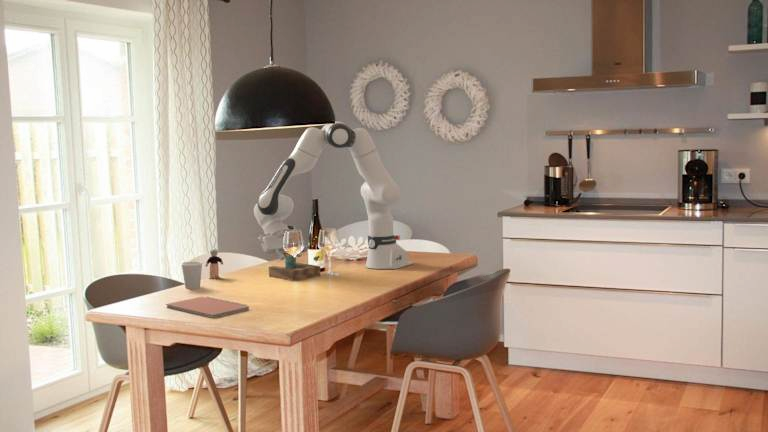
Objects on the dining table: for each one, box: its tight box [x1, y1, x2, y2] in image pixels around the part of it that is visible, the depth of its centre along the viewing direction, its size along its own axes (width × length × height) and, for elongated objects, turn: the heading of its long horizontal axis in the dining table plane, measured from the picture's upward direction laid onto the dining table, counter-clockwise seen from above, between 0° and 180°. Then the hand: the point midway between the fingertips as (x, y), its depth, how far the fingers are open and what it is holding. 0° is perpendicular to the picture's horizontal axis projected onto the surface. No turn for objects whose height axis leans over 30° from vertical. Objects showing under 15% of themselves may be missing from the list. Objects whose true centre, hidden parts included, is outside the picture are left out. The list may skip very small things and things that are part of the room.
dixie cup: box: [180, 260, 203, 290], centre depth 324 cm, size 8×8×10 cm
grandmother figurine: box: [204, 247, 224, 280], centre depth 344 cm, size 8×4×13 cm, turn 131°
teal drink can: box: [284, 252, 297, 269], centre depth 348 cm, size 5×5×10 cm
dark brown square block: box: [268, 261, 321, 282], centre depth 346 cm, size 15×16×4 cm
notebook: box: [165, 296, 250, 319], centre depth 288 cm, size 27×17×2 cm, turn 49°
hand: (291, 257), depth 347 cm, fingers open, 8 cm apart
